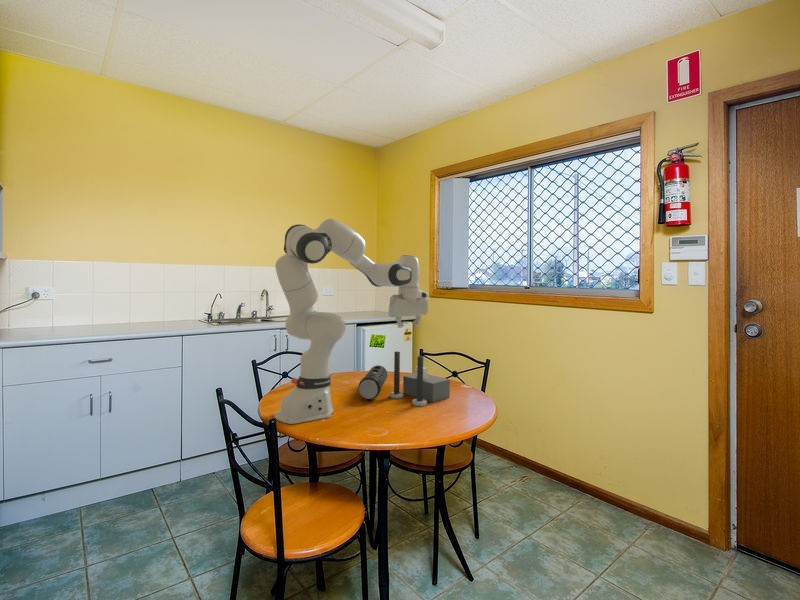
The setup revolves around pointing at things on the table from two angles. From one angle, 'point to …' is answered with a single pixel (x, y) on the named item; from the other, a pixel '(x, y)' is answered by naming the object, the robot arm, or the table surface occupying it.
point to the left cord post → (396, 377)
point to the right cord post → (419, 384)
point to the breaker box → (427, 387)
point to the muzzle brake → (372, 382)
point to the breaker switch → (423, 373)
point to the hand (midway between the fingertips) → (408, 326)
